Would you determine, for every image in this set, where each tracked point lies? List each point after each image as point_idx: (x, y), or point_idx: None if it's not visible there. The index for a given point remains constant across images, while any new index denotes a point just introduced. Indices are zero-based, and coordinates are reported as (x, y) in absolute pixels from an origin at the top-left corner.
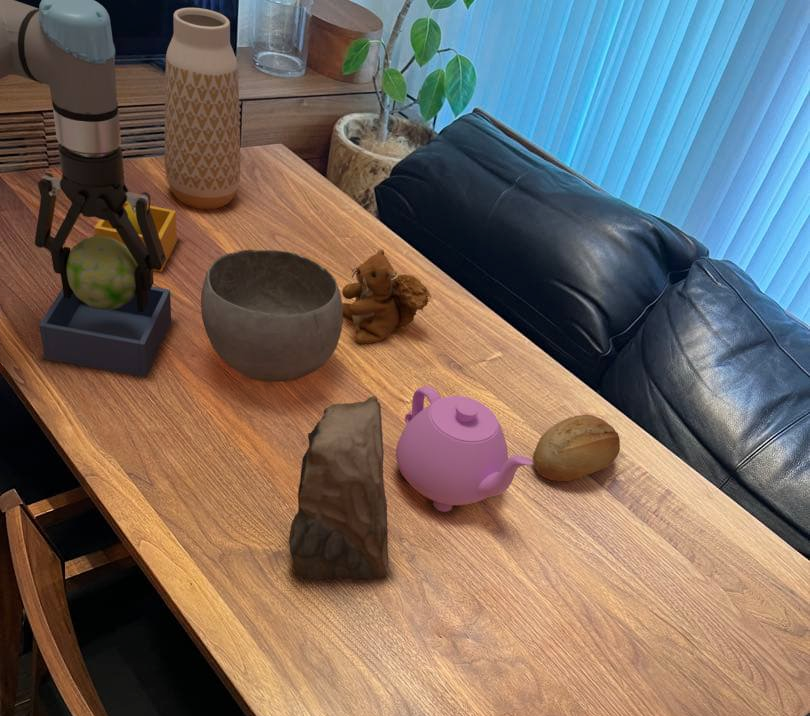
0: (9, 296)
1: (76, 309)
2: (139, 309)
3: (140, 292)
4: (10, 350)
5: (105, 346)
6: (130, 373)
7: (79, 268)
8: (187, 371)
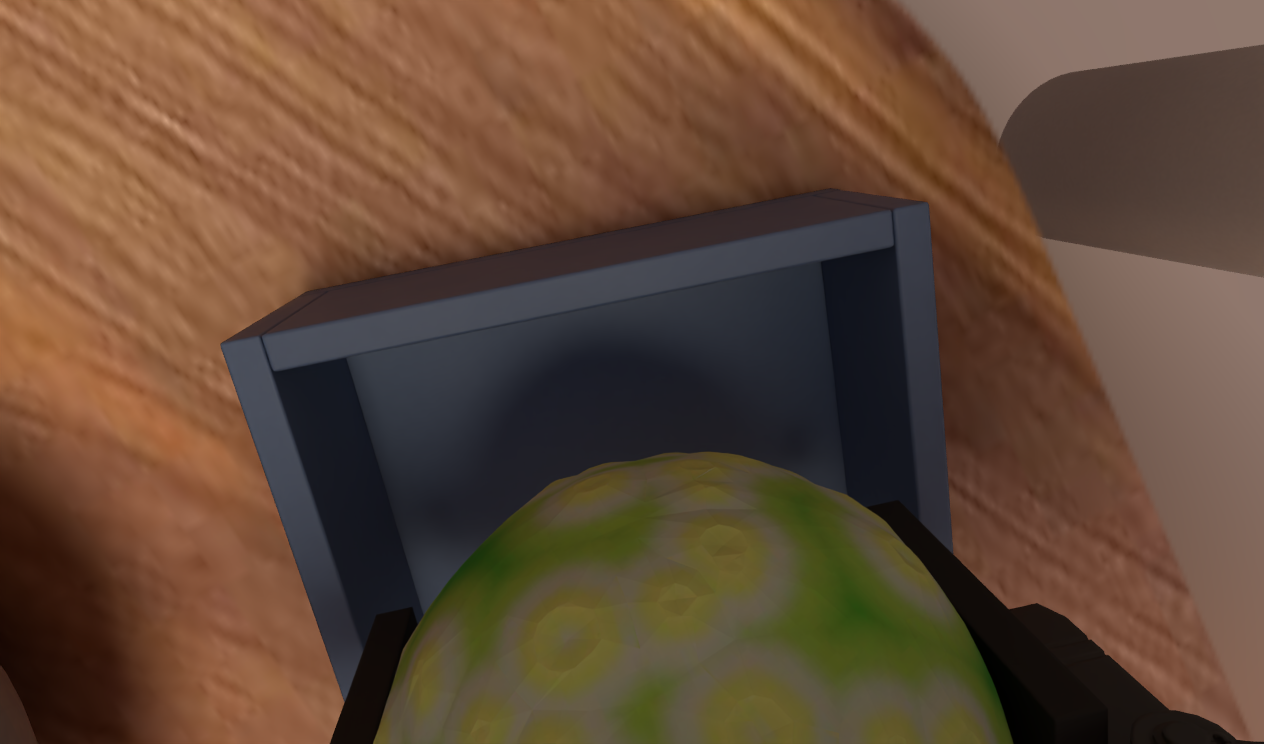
0: (1162, 537)
1: None
2: (397, 620)
3: (346, 723)
4: (1005, 177)
5: (500, 276)
6: (389, 276)
7: (827, 630)
8: (150, 438)
